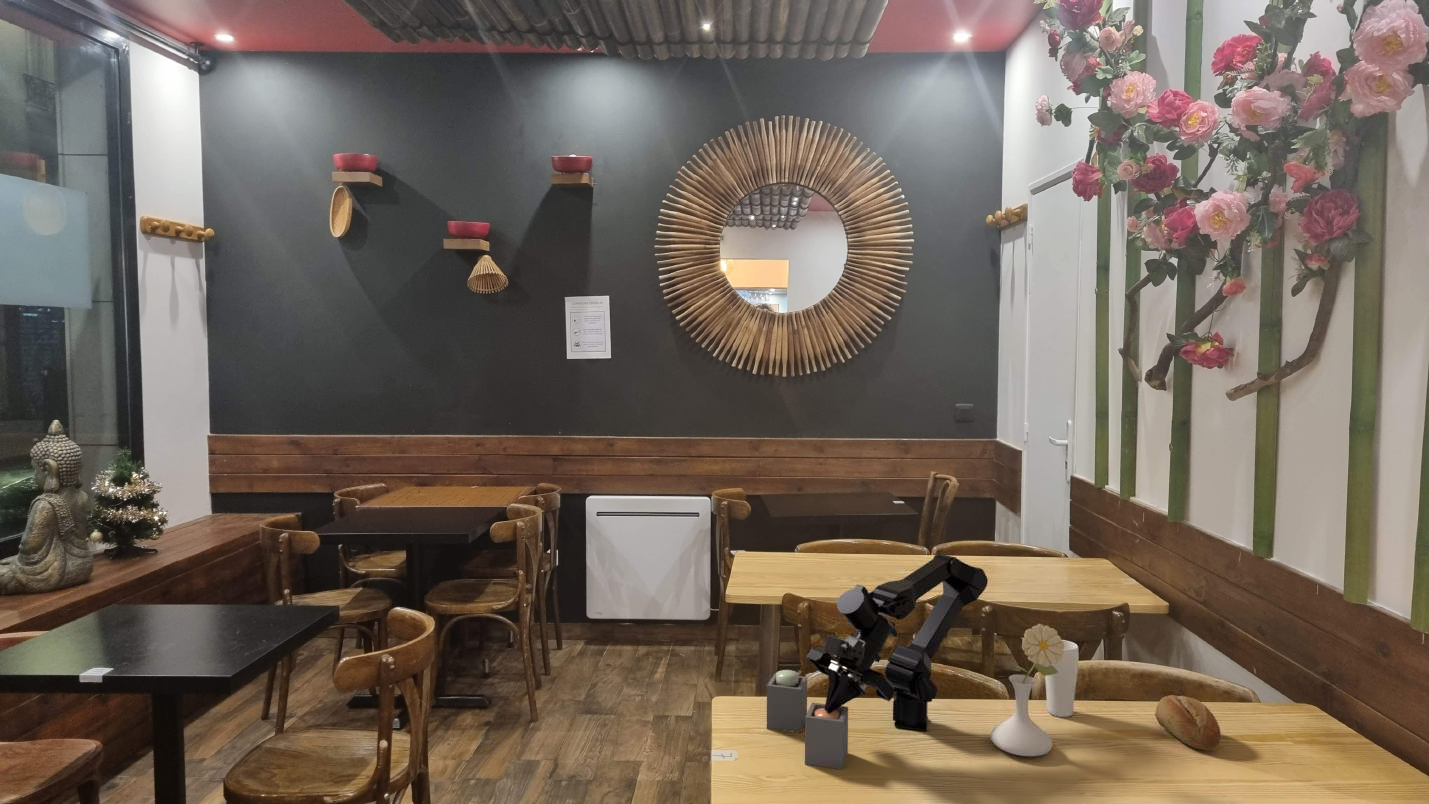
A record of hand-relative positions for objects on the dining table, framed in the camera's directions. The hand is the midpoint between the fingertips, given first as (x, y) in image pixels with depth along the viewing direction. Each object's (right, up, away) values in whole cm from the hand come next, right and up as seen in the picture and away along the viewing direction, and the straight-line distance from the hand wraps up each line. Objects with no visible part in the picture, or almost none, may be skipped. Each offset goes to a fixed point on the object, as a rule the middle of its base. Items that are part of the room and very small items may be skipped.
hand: (826, 711), depth 158 cm
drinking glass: (+53, -8, +21) cm, 58 cm away
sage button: (-6, 0, +15) cm, 16 cm away
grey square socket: (-6, -8, +15) cm, 19 cm away
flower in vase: (+39, -9, +4) cm, 41 cm away
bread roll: (+73, -9, +10) cm, 75 cm away
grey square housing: (0, -9, 0) cm, 9 cm away
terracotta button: (0, -3, 0) cm, 3 cm away
